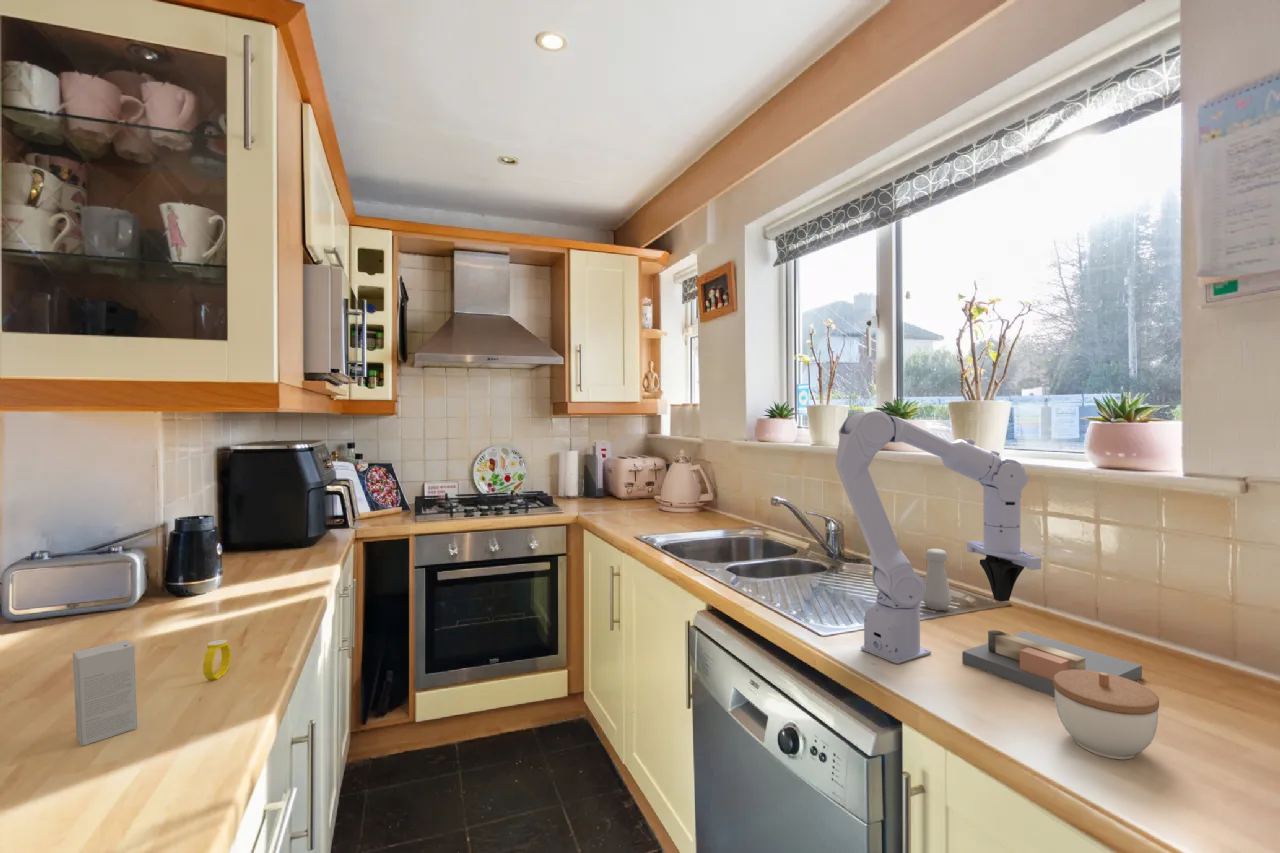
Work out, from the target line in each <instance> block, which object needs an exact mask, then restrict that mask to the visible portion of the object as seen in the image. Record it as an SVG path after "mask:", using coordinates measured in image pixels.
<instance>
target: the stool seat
mask: <svg viewBox="0 0 1280 853" xmlns="http://www.w3.org/2000/svg"><path fill="white" fill-rule="evenodd" d="M1012 635H1013V636H1017V637H1020V638H1023V639H1026V640H1029V641H1033V642H1036V643H1039V644H1042V645H1045V646H1048V647H1052V648H1055V649H1058V650H1061V651H1064V652H1068V653H1071V654H1074V655H1077V656H1080V657H1084V658H1085V670H1091V671H1098V672H1104V673H1108V674H1112V675H1116V676H1120V677H1123V678H1126V679H1129V680H1132V681H1134V682H1137V681H1138V680H1140V679H1142V678H1143V665H1142V664H1137V663H1136V662H1132V661H1128V660H1124V659H1121V658H1117V657H1114V656H1110V655H1108V654H1104V653H1100V652H1097V651H1094V650H1091V649H1086V648H1083V647H1081V646H1078V645H1074V644H1070V643H1067V642H1063V641H1060V640H1056V639H1053V638H1049V637H1046V636H1042V635H1041V634H1035V633H1034V632H1029V631H1022V632H1019V633H1015V634H1012ZM961 653H962V654H961V655H962V664H964V665H966V666H967V665H968V666H970V667H973V668H976V669H978V670H980V671H983V672H987V673H989V674H992V675H995V676H997V677H1000V678H1003V679H1006V680H1008V681H1010V682H1013V683H1016V684H1019V685H1022V686H1025V687H1027V688H1030V689H1032V690H1035V691H1038V692H1040V693H1043V694H1045V695H1048V696H1051V697H1054V698H1055V696H1054V685H1053V676H1054V675H1055V674H1056V673H1058V672H1060V671H1064V670H1070V660H1068V659H1064V658H1061V657H1058V656H1055V655H1052V654H1048V653H1045V652H1042V651H1039V650H1036V649H1032V648H1029V647H1028V648H1025V649H1022V650H1020V661H1018V660H1016V659H1013V658H1010V657H1007V656H1004V655H1001V654H998V653H995V652H992V651H990V650H989V649H988V642H987V643H983V644H981V645H978V646H974V647H971V648H969V649H966V650H965V649H964V650H962V652H961Z"/></svg>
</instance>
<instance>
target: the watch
mask: <svg viewBox="0 0 1280 853" xmlns="http://www.w3.org/2000/svg"><path fill="white" fill-rule="evenodd" d="M206 645H207V651H206V653H205V654H204V655H205V656H204V659H203V665H202V671H203V674H204V677H205V679H207V680H208V681H217V680H218V679H220V678H221V677H222V676H224V675H225V674H227V673H228V670H229V667H230V664H231V658H232V652H231V647H230V644H229V643H228V640H227V639H218V640H214V641H210V642H208V643H207V644H206ZM218 649H219V650H220V651H221V654H220V655H221V660H220V666H219V668H218V671H216V673H215V672H214V662H215V661H214V660H215V656H216V654H217V651H218Z"/></svg>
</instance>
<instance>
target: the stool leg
mask: <svg viewBox="0 0 1280 853" xmlns="http://www.w3.org/2000/svg"><path fill="white" fill-rule="evenodd" d="M1013 635H1014V634H1010V633H1006V632H1003V631H1001V630H996V629H991V630H988V631H987V643H988V649H989V650H990V651H992V652H995V653H998V654H1001V655H1004V656H1007V657H1010V658H1013V659H1016V660H1018V661H1020V650H1022V649H1025V648H1028V647H1029V648H1032V649H1036V650H1039V651H1042V652H1045V653H1048V654H1052V655H1055V656H1058V657H1061V658H1064V659H1068V660H1070V670H1085V658H1084V657H1080V656H1077V655H1074V654H1071V653H1068V652H1064V651H1061V650H1058V649H1055V648H1052V647H1048V646H1045V645H1042V644H1039V643H1036V642H1033V641H1029V640H1026V639H1023V638H1020V637H1017V636H1013Z"/></svg>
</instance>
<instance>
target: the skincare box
mask: <svg viewBox="0 0 1280 853" xmlns="http://www.w3.org/2000/svg"><path fill="white" fill-rule="evenodd" d="M72 668H73V669H72V670H73V685H74V686H73V688H74V708H75V710H74V711H75V733H76V734H75V735H76V738H77V740H78V743H79V744H80V746H81V747H84V745H85V746H88V745H90V743H91V744H93V742H94V743H96V742H97V743H98V742H100V741H103V740H105V739H106V740H107V739H109V738H111V737H115V736H117V735H121V734H123V733H127V732H130V731H134V730H136V729H137V728H138V710H137V708H138V706H137V682H136V681H137V680H136V679H137V678H136V659H135V645H134V644H133V643H132V642H130V640H128V639H123V640H119V641H115V642H111V643H108V644H107V643H106V644H103V645H97V646H93V647H90V648H85V649H82V650H80V649H79V650H78V651H77V650H76V651H73V652H72Z"/></svg>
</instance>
